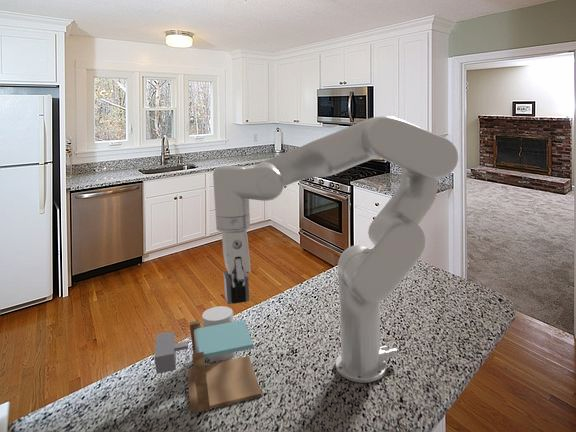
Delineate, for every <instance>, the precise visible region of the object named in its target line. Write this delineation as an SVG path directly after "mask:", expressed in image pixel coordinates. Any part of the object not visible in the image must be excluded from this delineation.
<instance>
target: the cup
mask: <svg viewBox="0 0 576 432" xmlns="http://www.w3.org/2000/svg"><path fill="white" fill-rule="evenodd" d="M201 318H202V325H203V327H208V326H213V325H219V324H224V323H230V322H235V320H234V311H233V309H232V308H231V307H229V306H226V305H225V306H222V305H220V306H212V307H211V308H208V309H206V310H205V311H204V312H202V315H201ZM203 327H202V328H203ZM236 353H237V352H233V353H228V354H223V355H218V356H213V357H208V358H207V359H210V361H211V360H212V362H217V361H219V362H222V361H227V360H231V359H232V358H233V357H235V355H236Z"/></svg>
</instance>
